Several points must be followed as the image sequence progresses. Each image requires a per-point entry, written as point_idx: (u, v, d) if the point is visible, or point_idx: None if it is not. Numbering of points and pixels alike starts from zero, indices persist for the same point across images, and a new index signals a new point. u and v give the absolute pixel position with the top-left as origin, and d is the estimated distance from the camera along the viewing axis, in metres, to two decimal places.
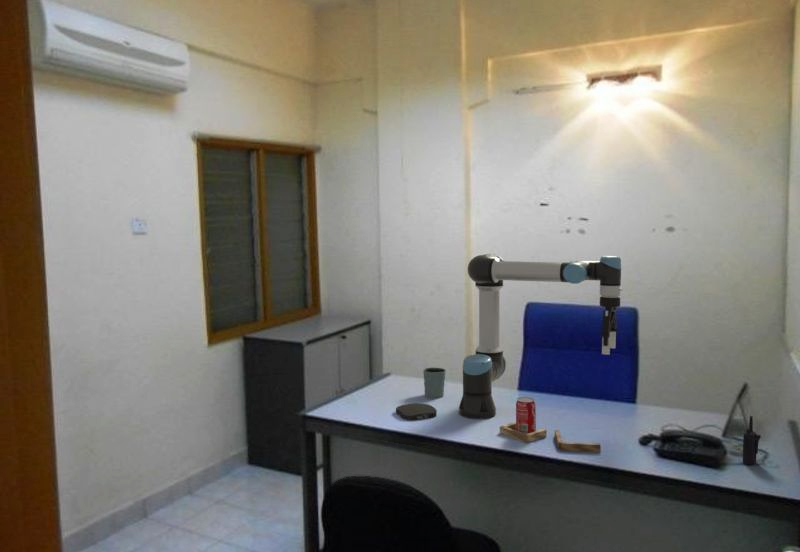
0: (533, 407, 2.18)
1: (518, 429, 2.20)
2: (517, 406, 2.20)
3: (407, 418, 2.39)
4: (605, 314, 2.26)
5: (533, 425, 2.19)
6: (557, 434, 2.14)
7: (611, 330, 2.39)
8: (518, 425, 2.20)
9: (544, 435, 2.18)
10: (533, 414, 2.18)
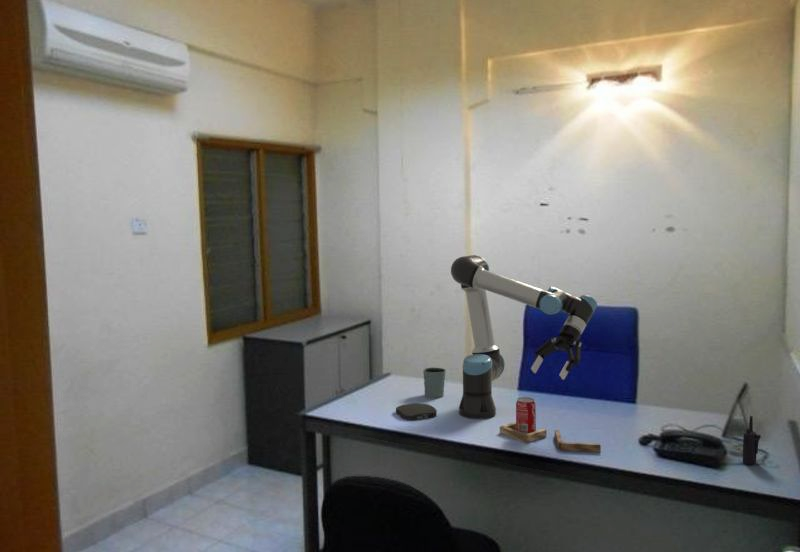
0: (533, 407, 2.18)
1: (518, 429, 2.20)
2: (517, 406, 2.20)
3: (407, 418, 2.39)
4: (579, 344, 2.26)
5: (533, 425, 2.19)
6: (557, 434, 2.14)
7: None
8: (518, 425, 2.20)
9: (544, 435, 2.18)
10: (533, 414, 2.18)
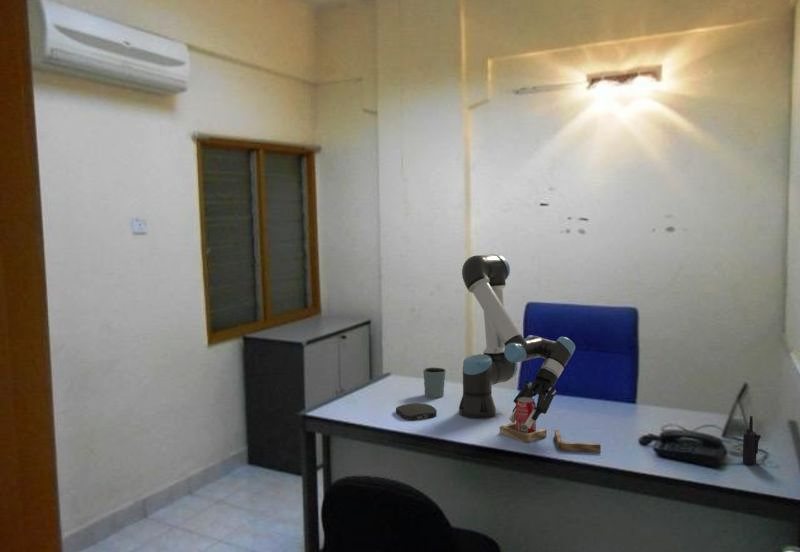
0: (533, 407, 2.18)
1: (518, 429, 2.20)
2: (517, 406, 2.20)
3: (407, 418, 2.39)
4: (553, 392, 2.20)
5: (533, 425, 2.19)
6: (557, 434, 2.14)
7: None
8: (518, 425, 2.20)
9: (544, 435, 2.18)
10: None
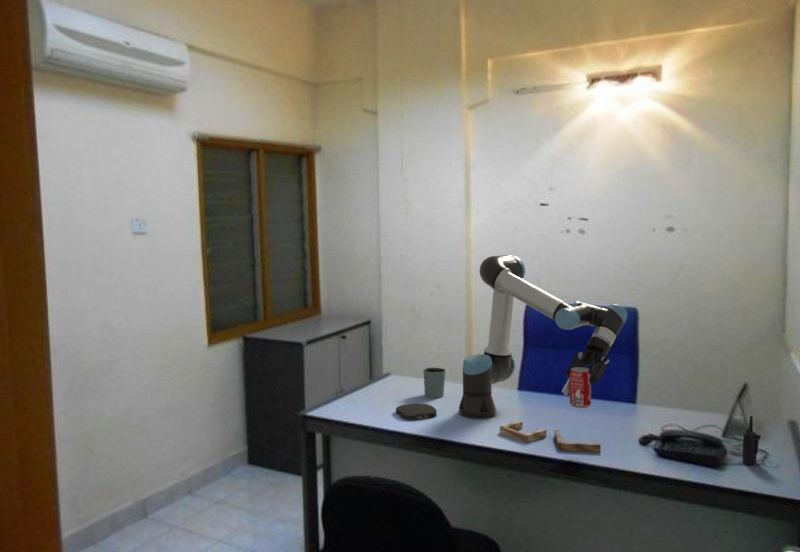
0: (589, 377, 2.06)
1: (572, 401, 2.07)
2: (571, 376, 2.07)
3: (407, 418, 2.39)
4: (605, 362, 2.08)
5: (589, 396, 2.06)
6: (557, 434, 2.14)
7: None
8: (572, 396, 2.07)
9: (544, 435, 2.18)
10: (588, 384, 2.06)
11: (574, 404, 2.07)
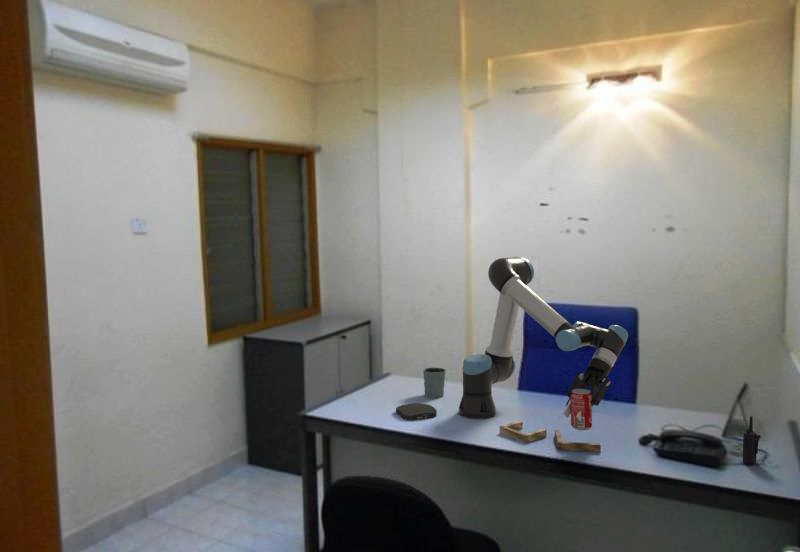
0: (590, 399, 2.06)
1: (574, 423, 2.07)
2: (572, 398, 2.07)
3: (407, 418, 2.39)
4: (606, 384, 2.08)
5: (590, 418, 2.06)
6: (557, 434, 2.14)
7: None
8: (574, 418, 2.07)
9: (544, 435, 2.18)
10: (590, 406, 2.06)
11: (575, 426, 2.07)
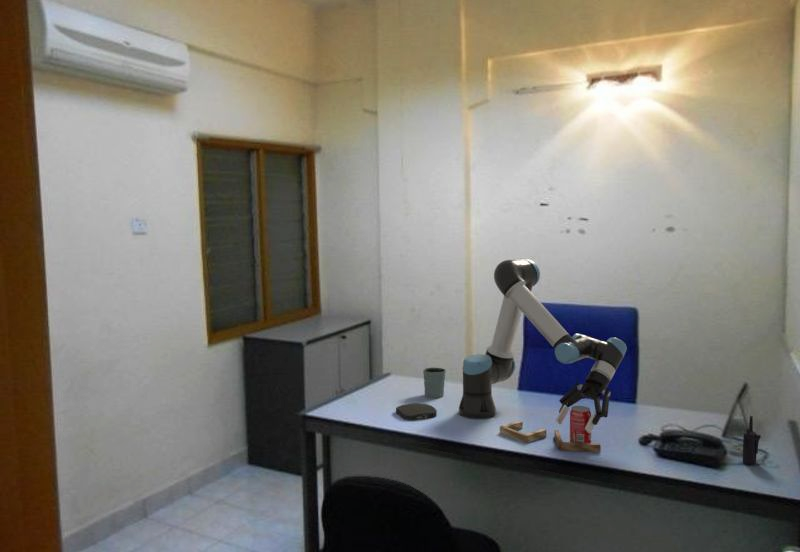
0: (589, 416, 2.07)
1: (573, 440, 2.08)
2: (572, 416, 2.08)
3: (407, 418, 2.39)
4: (608, 394, 2.09)
5: (589, 435, 2.07)
6: (557, 434, 2.14)
7: (566, 405, 2.16)
8: (573, 436, 2.08)
9: (544, 435, 2.18)
10: None
11: None
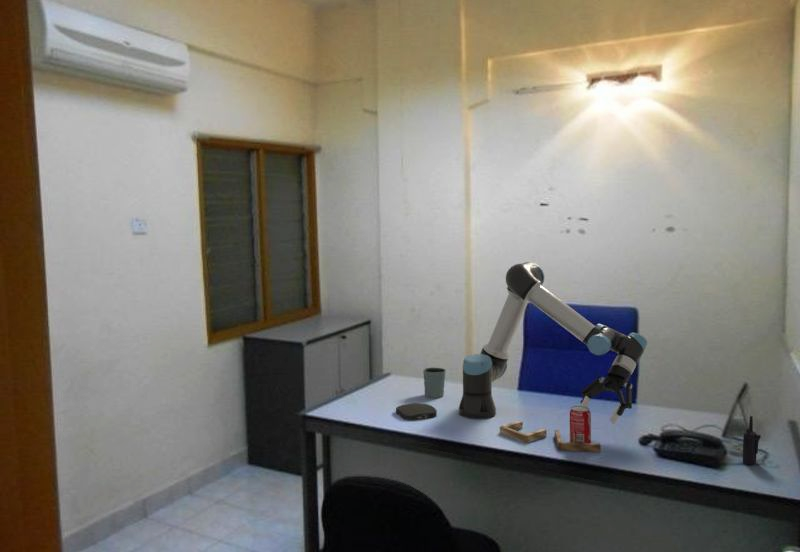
0: (589, 416, 2.07)
1: (573, 440, 2.08)
2: (572, 416, 2.08)
3: (407, 418, 2.39)
4: (630, 386, 2.16)
5: (589, 435, 2.08)
6: (557, 434, 2.14)
7: None
8: (573, 436, 2.08)
9: (544, 435, 2.18)
10: (589, 423, 2.07)
11: None
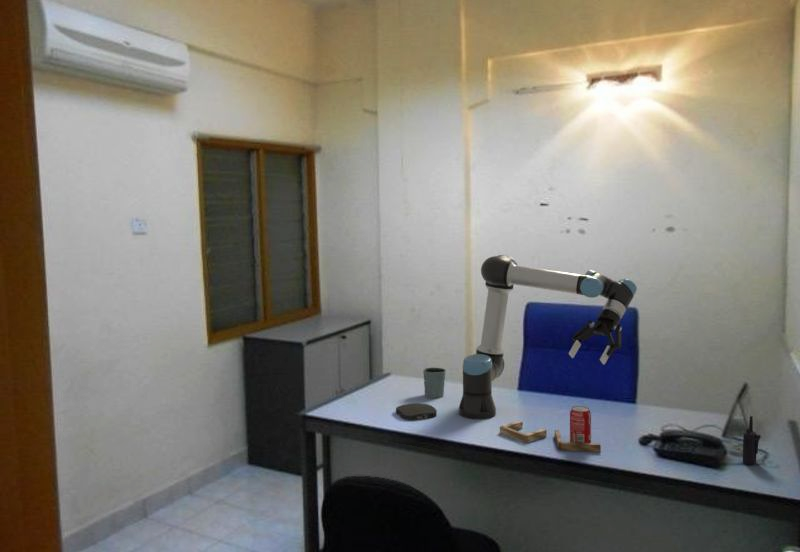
0: (589, 416, 2.07)
1: (573, 440, 2.08)
2: (572, 416, 2.08)
3: (407, 418, 2.39)
4: (620, 328, 2.20)
5: (589, 435, 2.08)
6: (557, 434, 2.14)
7: (578, 340, 2.28)
8: (573, 436, 2.08)
9: (544, 435, 2.18)
10: (589, 424, 2.07)
11: None
